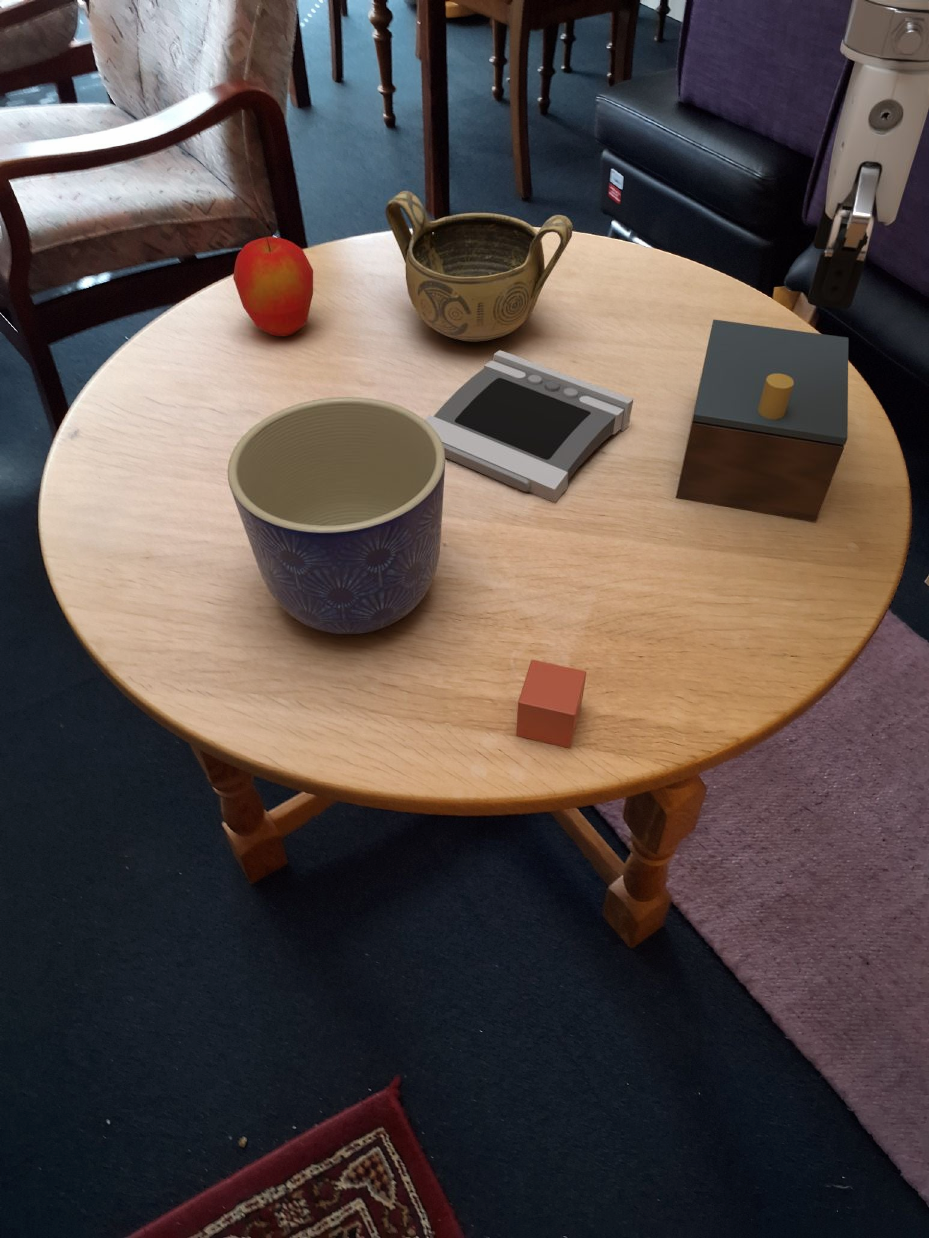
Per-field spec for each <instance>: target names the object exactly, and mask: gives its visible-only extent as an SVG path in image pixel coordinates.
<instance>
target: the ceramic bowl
mask: <svg viewBox="0 0 929 1238" xmlns="http://www.w3.org/2000/svg"><path fill="white" fill-rule="evenodd" d="M402 210H403V211H402ZM403 212H404V213H403ZM403 214H405V215H406V217H407V219H408V221H409V224H410V226H411V230H412V232H411V230H410V228H409V225H408V223H407V220H406V219H405V217H404V215H403ZM385 217H386V220H387V223H388V225H389V227H390V229H391V232H392V234H393V236H394V239H395V241H396V243H397V245H398V248H399V250H400V253H401V256H402V258H403V261H404V263H405V267H404V268H405V283H406V288H407V293H408V296H409V298H410V301H411V304H412V306H413V308H414V309H415V312H416V313H417V314H418V316H419V318H420V319H421V320H422V321H423V322H424V323H425V324H426V325H428V326H429V327H430V328H432V329H433V330H434V331H436V332H438V333H439V334H441V335H443V336H445V337H448V338H450V339H454V340H459V341H463V342H472V343H473V342H474V343H476V342H477V343H479V342H487V341H491V340H495V339H499V338H501V337H505V336H506V335H509V334H511V333H512V332H514V331H516V330H517V329H518V328H519V327H520V326H522V325H523V324H524V323H525V322H526V321H527V320H528V318H529V317H530V315H531V314H532V312H533V311H534V309H535V306H536V304H537V302H538V299H539V297H540V294H541V292H542V290H543V287H544V285H545V283H546V282H547V280H548V278H549V277H550V275H551V273H552V271H553V270H554V268H555V266H556V265H557V263H558V262H559V259H560V258H561V257H562V254H563V253H564V251H565V250H566V248H567V246H568V244H569V243H570V241H571V239H572V237H573V229H574V226H573V223H572V222H571V221H572V220H570V218H569V217H567V216H566V215H561V214H554V215H553V216H550V218H548V219H547V220H546V221H545V222H544V223H543V224H542V226H541V227H540V228H539V230H538V231H537V230H536V228H535V227H533V226H532V225H531V224H530V223H528V222H526V221H524V220H522V219H519V218H518V217H517V218H516V217H512V216H509V215H504V214H498V213H491V212H468V213H466V212H465V213H459V214H453V215H448V216H444V217H441V218H438V219H436V220H430V219H429V218H428V216H427V212H426V209H425V208H424V206H423V203H422V202H421V200H420V199H419V198H418V197H417V196H416V195H415V194H414V193H413V192H411V191H408V190H402V191H401V192H398V194H396V195H395V196H393V197H392V198H391V199H390V200H389V201H388V202H387V204H386V206H385ZM548 233H556V234H557V235H558V236H559V239H560V242H559V244H558V247H557V248H556V250H555V252H553V253H554V254H553V255H552V257H551V258H550V260H549V261H548V264H547V265H546V263H545V253H544V248H543V237H545V235H546V234H548ZM545 265H546V266H545Z"/></svg>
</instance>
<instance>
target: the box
mask: <svg viewBox="0 0 929 1238" xmlns="http://www.w3.org/2000/svg"><path fill="white" fill-rule="evenodd" d="M710 333H711V331H710V332H709V334H710ZM707 341H708V342H709V340H707ZM708 342H707V343H708ZM707 347H708V345H707V346H706V348H707ZM706 352H707V350H706V351H705V353H706ZM705 357H706V354H705V356H704V358H705ZM704 362H705V359H704V360H703V363H704ZM703 367H704V364H703V365H702V369H701V374H700V378H699V383H698V388H697V393H696V398H695V402H694V407H693V412H692V417H691V421H690V425H689V432H688V436H687V440H686V445H685V450H684V455H683V460H682V465H681V470H680V475H679V480H678V485H677V489H676V494H675V498H676V499H682V500H688V501H693V502H699V503H704V504H710V505H716V506H721V507H726V508H732V509H738V510H744V511H750V512H755V513H761V514H766V515H767V514H768V515H773V516H777V517H778V516H779V517H784V518H788V519H789V518H790V519H796V520H801V521H807V522H811V523H817V521H818V518H819V515H820V512H821V510H822V507H823V504H824V502H825V499H826V497H827V494H828V491H829V488H830V486H831V483H832V481H833V478H834V475H835V473H836V471H837V469H838V465H839V462H840V459H841V457H842V455H843V451H844V449H845V445H840V444H834V443H828V442H821V441H815V440H809V439H803V438H796V437H790V436H784V435H777V434H771V433H765V432H758V431H752V430H746V429H740V428H733V427H727V426H721V425H714V424H708V423H702V422H696V421H693V416H694V411H695V406H696V401H697V396H698V391H699V386H700V381H701V377H702V372H703Z"/></svg>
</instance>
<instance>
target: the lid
mask: <svg viewBox="0 0 929 1238" xmlns="http://www.w3.org/2000/svg"><path fill="white" fill-rule="evenodd" d="M710 332H711V333H710ZM710 332H709V337H708V341H709V342H707V346H708V347H707V346H706V351H707V352H706V351H705V355H706V357H705V356H704V360H705V362H704V361H703V365H704V367H703V366H702V369H703V372H702V371H701V374H702V377H701V376H700V378H701V381H700V380H699V383H700V386H699V385H698V388H699V391H698V390H697V392H698V396H697V395H696V397H697V401H696V400H695V402H696V406H695V405H694V406H695V411H694V410H693V411H694V416H693V415H692V416H693V421H696V422H702V423H708V424H714V425H721V426H727V427H733V428H740V429H746V430H752V431H758V432H765V433H771V434H777V435H784V436H790V437H796V438H803V439H809V440H815V441H821V442H828V443H834V444H840V445H844V446H846V444H847V441H848V438H849V437H848V434H849V433H848V429H849V428H848V426H849V420H848V419H849V415H848V414H849V337H845V336H838V335H830V334H824V333H815V332H809V331H802V330H793V329H787V328H779V327H773V326H764V325H757V324H751V323H745V322H744V323H743V322H737V321H736V322H735V321H728V320H721V319H713V320H712V324H711V328H710Z"/></svg>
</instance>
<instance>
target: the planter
mask: <svg viewBox="0 0 929 1238" xmlns="http://www.w3.org/2000/svg"><path fill="white" fill-rule="evenodd" d="M445 475H446V458H445V451H444V447H443V444H442V441H441V439H440V437H439V435H438V434H437V433H436V431H435V430H434V429H433V428H432V427H431V425H430V424H429V423H428V422H426V421H425V419H424V418H423V417H421V416H420V415H418V414H417V413H415V412H413V411H412V410H410V409H408V408H405V407H403V406H401V405H398V404H395V403H392V402H389V401H385V400H382V399H381V400H380V399H376V398H370V397H369V398H368V397H359V396H337V397H325V398H319V399H313V400H308V401H304V402H301V403H297V404H294V405H290V406H288V407H286V408H283V409H280V410H277V412H274V413H272V414H270V415H268V416H266V417H265V418H264V419H263V418H262V420H261V421H259V422H258V423H256V424H254V425H253V426H252V427H251V428H250V429H249V430H247V432H246V433H245V434H244V435H242V437H241V438H240V439H239V440H238V442H237V443H236V445H235V447H234V448H233V450H232V452H231V454H230V457H229V460H228V464H227V481H228V485H229V489H230V491H231V494H232V497H233V500H234V503H235V505H236V508H237V511H238V515H239V516H240V519H241V522H242V525H243V528H244V531H245V534H246V536H247V540H248V542H249V546H250V547H251V551H252V553H253V557H254V559H255V561H256V565H257V568H258V570H259V572H260V575H261V577H262V579H263V582H264V584H265V586H266V587H267V589H268V591H269V593H270V594H271V596H272V597H273V599H274V600H275V601H276V602H277V604H278V605H279V606H280V607H281V608H282V609H283V610H284V611H285V612H286V613H287V614H288V615H290V616H291V617H293V618H294V619H296V621H298V622H300V623H302V624H303V625H305V626H307V627H310V628H312V629H315V630H318V631H321V632H326V633H329V634H335V635H359V634H367V633H370V632H374V631H377V630H381V629H384V628H386V627H389V626H391V625H393V624H394V623H396V622H398V621H399V620H401V619H403V618H404V617H406V616H407V615H408V614H409V613H411V612H412V611H413V610H414V609H415V608H416V607H417V606H418V605H419V604H420V602H421V601H422V600H423V599H424V598H425V595H426V594H427V592H428V591H429V589H430V586H431V585H432V583H433V580H434V578H435V575H436V573H437V569H438V564H439V560H440V554H441V544H442V543H441V542H442V541H441V540H442V525H443V510H444V509H443V506H444V492H445V491H444V490H445V477H446V476H445Z"/></svg>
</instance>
